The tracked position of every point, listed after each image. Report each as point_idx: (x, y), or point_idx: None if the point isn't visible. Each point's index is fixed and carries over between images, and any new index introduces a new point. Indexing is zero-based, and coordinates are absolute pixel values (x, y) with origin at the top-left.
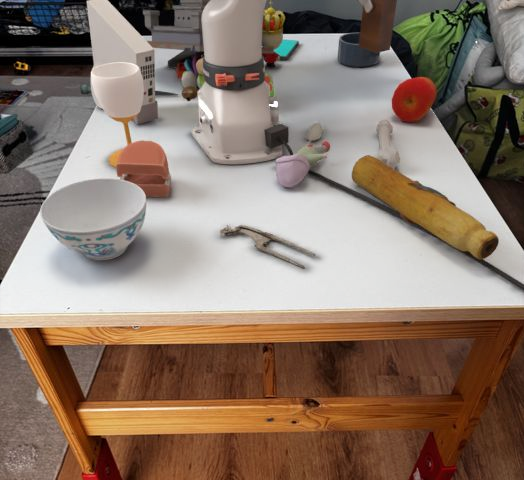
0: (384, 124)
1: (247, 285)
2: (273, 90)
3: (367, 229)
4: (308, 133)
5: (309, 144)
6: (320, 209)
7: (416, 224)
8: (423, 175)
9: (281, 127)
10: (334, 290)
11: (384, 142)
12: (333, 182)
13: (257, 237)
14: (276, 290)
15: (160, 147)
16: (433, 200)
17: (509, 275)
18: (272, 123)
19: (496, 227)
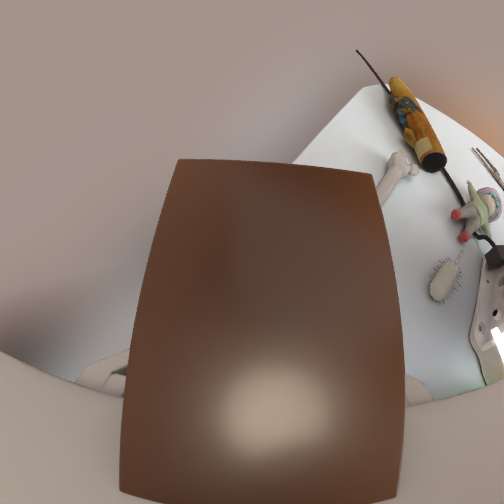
0: None
1: (498, 160)
2: None
3: (439, 141)
4: (457, 271)
5: (467, 235)
6: (464, 173)
7: None
8: (367, 146)
9: (501, 250)
10: (464, 132)
11: (395, 177)
12: (453, 182)
13: (499, 177)
14: (487, 149)
15: None
16: (414, 98)
17: (383, 84)
18: (481, 334)
19: (358, 97)
